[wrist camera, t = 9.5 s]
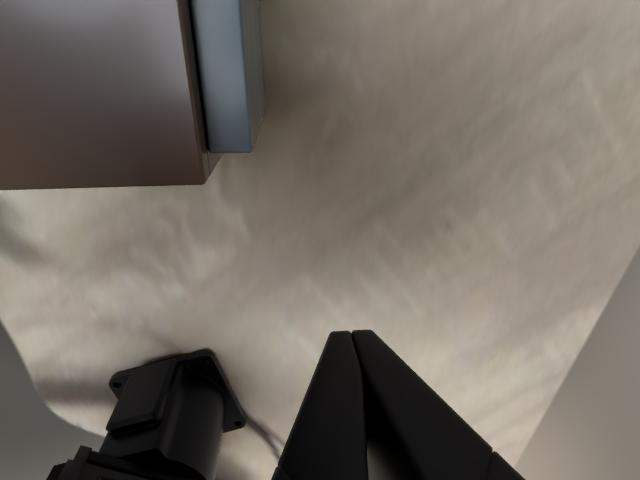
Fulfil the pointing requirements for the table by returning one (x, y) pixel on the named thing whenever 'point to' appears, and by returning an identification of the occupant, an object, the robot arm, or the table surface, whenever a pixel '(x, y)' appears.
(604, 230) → the table surface
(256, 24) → the drawer
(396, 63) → the table surface
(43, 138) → the cabinet
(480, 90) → the table surface
